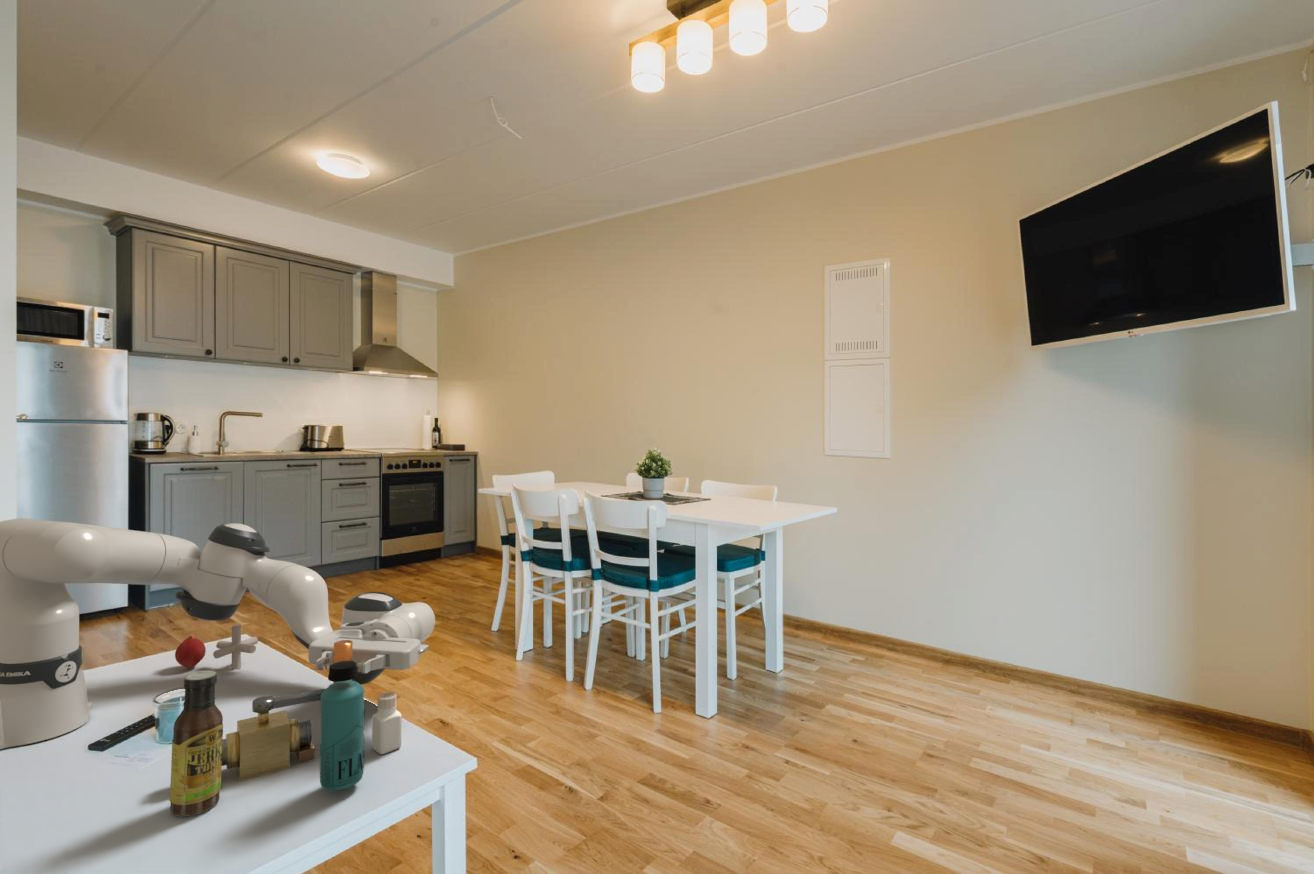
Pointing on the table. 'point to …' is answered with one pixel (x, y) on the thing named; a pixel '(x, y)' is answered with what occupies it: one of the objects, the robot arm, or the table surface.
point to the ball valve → (267, 744)
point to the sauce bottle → (197, 748)
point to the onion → (190, 652)
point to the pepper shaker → (386, 724)
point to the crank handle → (270, 702)
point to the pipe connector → (235, 647)
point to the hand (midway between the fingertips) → (340, 667)
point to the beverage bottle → (342, 728)
